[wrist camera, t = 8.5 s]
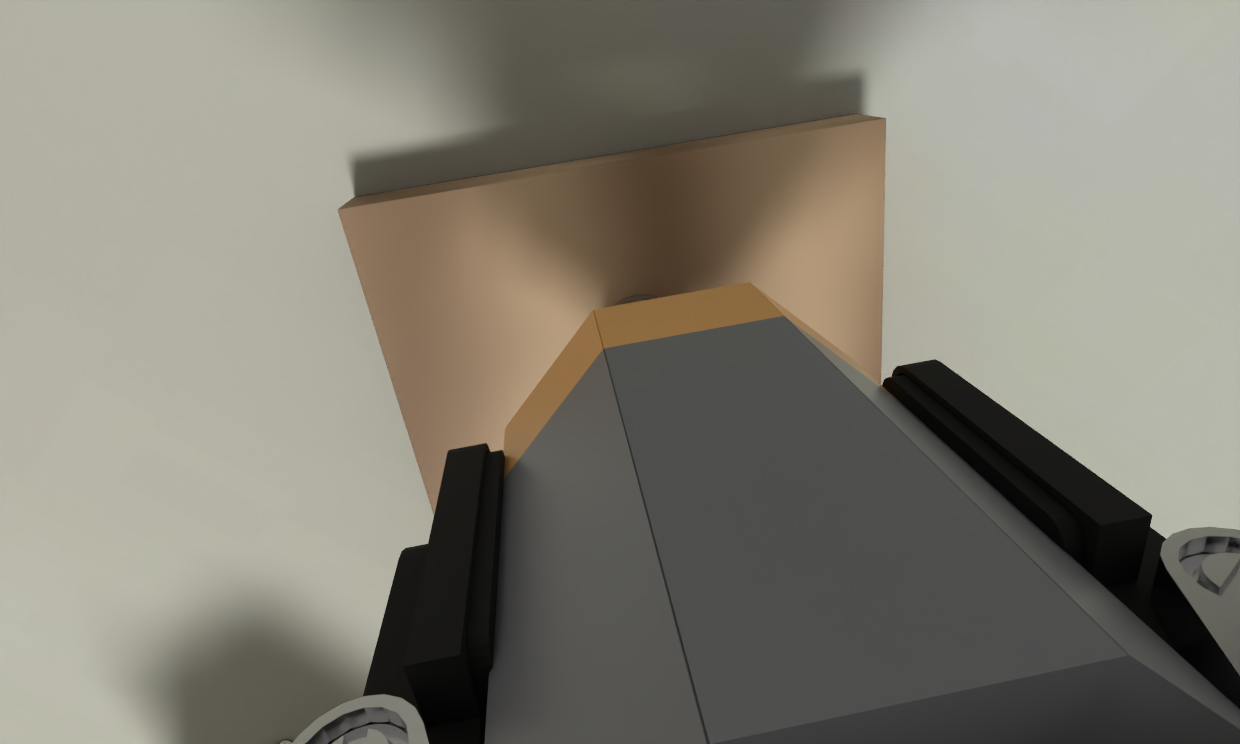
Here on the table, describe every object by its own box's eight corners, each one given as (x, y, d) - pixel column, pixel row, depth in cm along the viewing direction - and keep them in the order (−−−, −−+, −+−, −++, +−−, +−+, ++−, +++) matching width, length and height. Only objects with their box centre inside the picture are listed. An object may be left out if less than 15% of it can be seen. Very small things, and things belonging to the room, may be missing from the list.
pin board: (856, 114, 16) (1018, 138, 11) (855, 735, 26) (942, 915, 20) (353, 197, 16) (262, 266, 10) (537, 802, 25) (539, 1007, 20)
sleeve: (857, 261, 10) (1412, 596, 4) (856, 559, 12) (1197, 1072, 6) (480, 329, 10) (393, 812, 3) (552, 620, 12) (577, 1224, 6)
